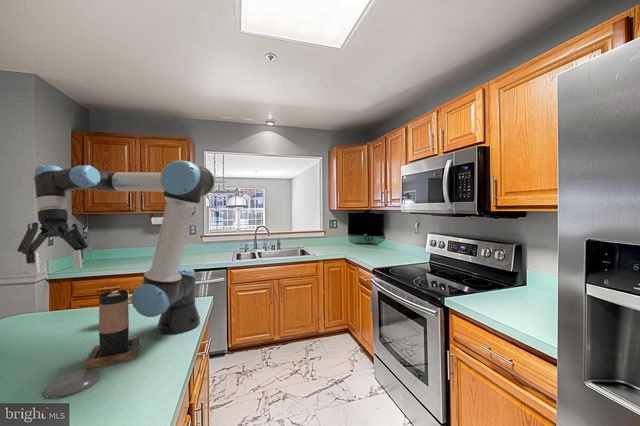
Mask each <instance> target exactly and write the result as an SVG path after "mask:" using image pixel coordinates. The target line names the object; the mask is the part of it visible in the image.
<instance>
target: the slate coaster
mask: <svg viewBox="0 0 640 426" xmlns="http://www.w3.org/2000/svg"><path fill="white" fill-rule="evenodd" d="M100 377H101V372H100V371H99V370H98V369H95V368H91V369H87V370H86V369H81V370H77V371H72V372H69V373H67V374H65V375H62V376H60V377H58V378H56V379H55V380H53V381H51V382H50V383H49V384H48V385H47V386H45V389H44V396H45V395H46V396H48V397H47V398H49V397H61V398H66V397H70V396H72V395H73V396H74V395H76V394H78V393H81V392H83V391H85V390H87V389H89V388H91V387H92V386H94V385H95V384H96V383H97V382H98V381H99V379H101V378H100ZM46 396H45V397H46Z"/></svg>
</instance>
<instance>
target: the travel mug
mask: <svg viewBox="0 0 640 426" xmlns="http://www.w3.org/2000/svg"><path fill="white" fill-rule="evenodd" d="M117 291H118V292H113V291H107V292H106V291H105V292H103V293H101V294H99V295H98V296H99V297H98V304H99V305H98V332H99V333H98V336H99V337H98V338H99V345H100V354H99V356H100V357H99V358H102V357H107V356H111V355H116V354H121V353H126V352H129V347H128V339H129V336H130V335H129V331H130V330H129V328H130V322H129V319H130V318H129V313H130V312H129V304H128V294H129V290H126V289H120V290H117Z"/></svg>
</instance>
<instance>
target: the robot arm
mask: <svg viewBox="0 0 640 426" xmlns="http://www.w3.org/2000/svg"><path fill="white" fill-rule="evenodd" d="M33 180H34V185H35V197H36V208H37V210H38V211H37V220H38V222H39V223H38V222H37V221H36V222H35V221H34V222H32V223H30V222H29V223H28V224H27V231H26V233H25V235H24V236H23V238H22V240H21V242H20V243H19V246H18V248H17V250H16V251H17V252H18V253H22V254H23V255H25V258H26V264H27V265H29V274H30V275H34V274H40V273H41V269H40V258H39V256H40V254H39V252H36V251H37V250H38V249H39V248H40V246H42V244H43V243H44V242H45V240H46V239H47V238H51V237H52V238H53V237H54V238H55V237H57V238H58V237H59V238H60V239H62V240H64V241H65V242H66V243H67V244H68V245H69V246H70V247H71V248H72V249H73V251H72V261H73V269H74V270H77V269H81V268H82V269H83V258H84V255H83V253H84V252H83V250H85V249H86V248H88V247H89V246H88V244H87V242H86V241H85V239H84V237H83V236H82V234H81V233H80V231H79V229H78V225H77V223H72V224H68V219H69V215H68V214H69V213H68V210H67V209H68V204H67V195H66V192H69V191H75V190H90V191H100V192H109V193H110V192H111V193H114V192H115V193H116V192H163V194H162V195H163V199H164V200H165V201H166V204H165V208H164V213H163V216H162V221H161V226H160V229H159V233H158V237H157V242H156V245H155V249H154V250H155V251H154V254H153V255H154V256H153V258H152V263H151V266H150V269H148V270H147V271H145V272H144V274H143V278H142V282H141V284H140V285H139V286H136V288H135V289H134V290H133V293H132V294H131V295H132V302H131V303H132V306H133V309H135V310H136V312H137V313H138V314H140V315H141V316H144V317H148V318H155V317H157V316H159V319H158V321H157V331H158V332H159V333H161V334H165V335H173V334H181V333H185V332H188V331H191V330H194V329H195V328H197V327H198V326H199V325H200V324H201V316H200V313H199V310H198V308H197V306H196V274H195V273H196V272H195V270H194V269H193V268H189V267H188V268H186V267H185V268H183V267H181V268H180V265H181V261H182V257H183V253H184V249H185V245H186V241H187V236H188V233H189V230H190V229H189V227H190V224H191V220H192V216H193V211H194V208H196V207H197V206H198V205H200V202H201V198H202V197H204V196H206V195H208V194H209V193H211V192H212V191H213V188H214V186H215V178H214V175H213V173H212V172H211V171H210V169H208V168H206V167H205V166H202V165H199V164H196V163H194V162H191V161H186V160H182V159H181V160H179V159H178V160H174V161H171V162H170V163H168V164H167V165H165V166H164V167H163V169H162V171H161V172H146V171H145V172H139V171H138V172H136V171H135V172H134V171H133V172H132V171H131V172H129V171H128V172H126V171H125V172H122V171H120V172H118V171H117V172H116V171H115V172H114V171H113V172H112V171H110V172H109V171H102V170H101V171H100V170H98V169H97V168H95V167H94V166H92V165H88V164H86V165H77V166H74V167H69V168H64V169H63V168H61V166H56V165H49V164H48V165H40V166H37V167H35V169H34V178H33ZM39 230H40V232H39V233H38V231H39ZM37 233H38V234H37ZM36 235H37V237H36ZM35 237H36V238H35Z"/></svg>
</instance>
